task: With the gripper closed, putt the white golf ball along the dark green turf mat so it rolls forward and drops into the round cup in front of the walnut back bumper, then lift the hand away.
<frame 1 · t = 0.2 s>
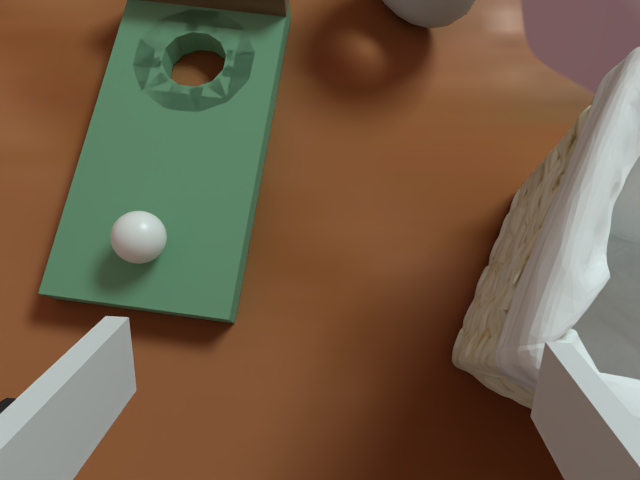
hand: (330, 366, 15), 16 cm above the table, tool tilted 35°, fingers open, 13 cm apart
bumper: (214, 19, 38), resting on mat
mat: (183, 146, 35), on the table
donut: (405, 13, 38), on the table
ball: (139, 237, 29), point 4 cm above the table, touching mat
storage basket: (636, 345, 31), on the table
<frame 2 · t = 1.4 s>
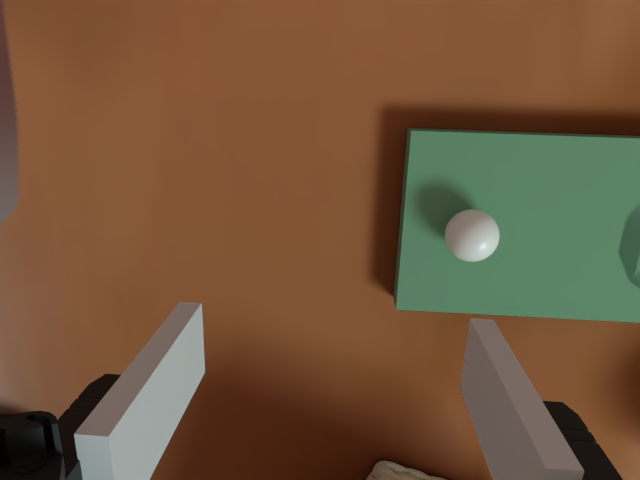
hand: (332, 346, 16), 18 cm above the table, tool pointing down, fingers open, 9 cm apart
mat: (579, 225, 32), on the table
ball: (471, 235, 29), point 4 cm above the table, touching mat
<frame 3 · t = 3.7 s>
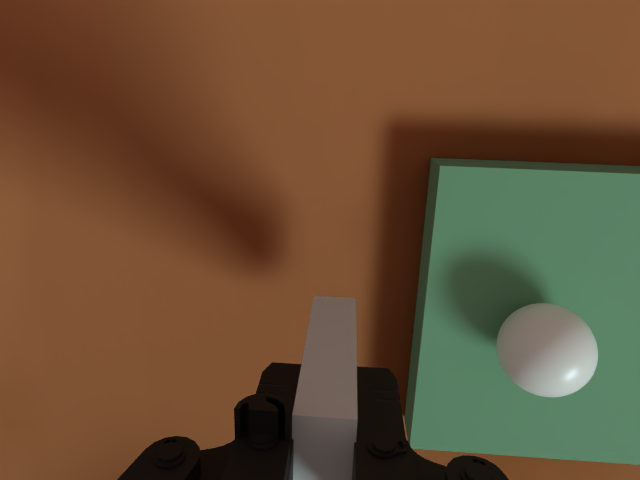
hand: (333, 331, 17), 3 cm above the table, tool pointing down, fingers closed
ball: (545, 349, 17), point 4 cm above the table, touching mat
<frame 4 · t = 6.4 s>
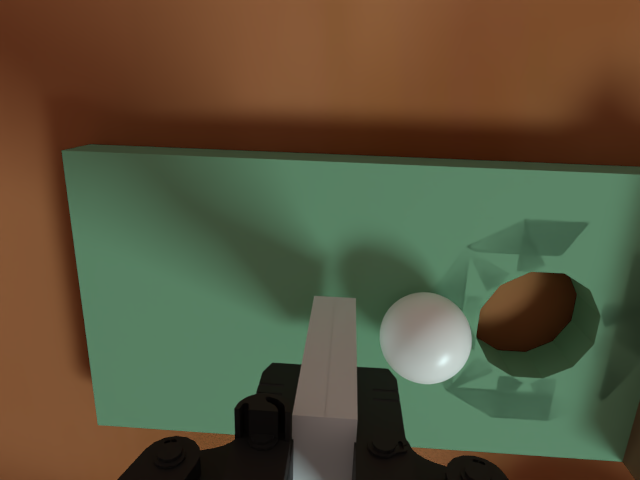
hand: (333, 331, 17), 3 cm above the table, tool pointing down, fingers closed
mat: (377, 296, 21), on the table
ball: (424, 337, 17), point 4 cm above the table, tilted 23°, touching mat
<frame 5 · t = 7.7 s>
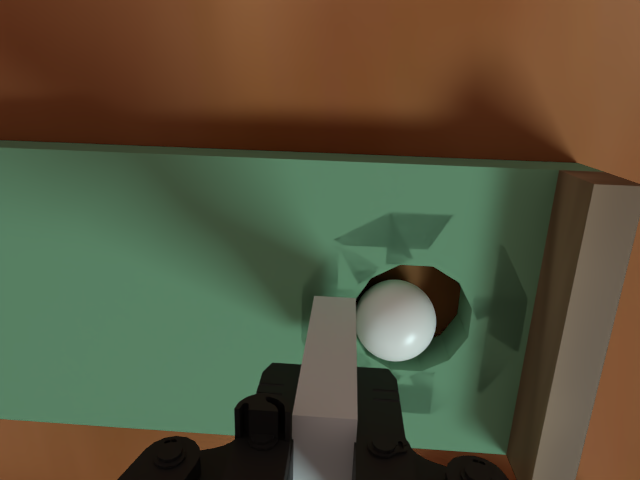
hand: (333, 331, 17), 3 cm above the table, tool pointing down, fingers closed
bumper: (531, 305, 20), resting on mat
mat: (265, 290, 21), on the table
ball: (394, 319, 19), point 2 cm above the table, tilted 137°
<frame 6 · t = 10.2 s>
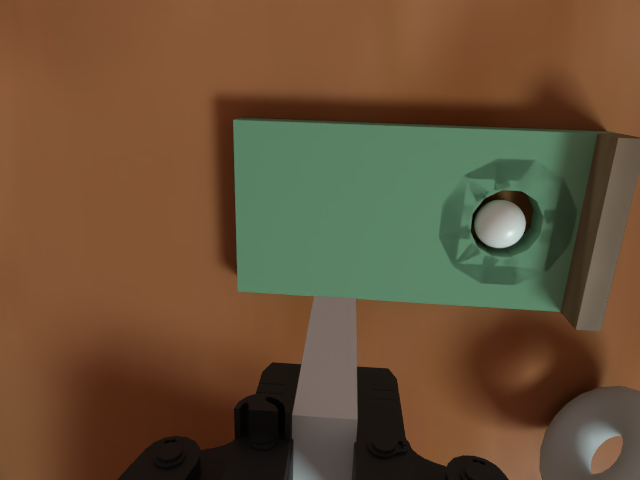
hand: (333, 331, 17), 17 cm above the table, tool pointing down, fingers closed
bumper: (576, 220, 33), resting on mat
mat: (410, 212, 33), on the table
donut: (573, 405, 37), on the table
ball: (499, 223, 32), point 2 cm above the table, tilted 147°
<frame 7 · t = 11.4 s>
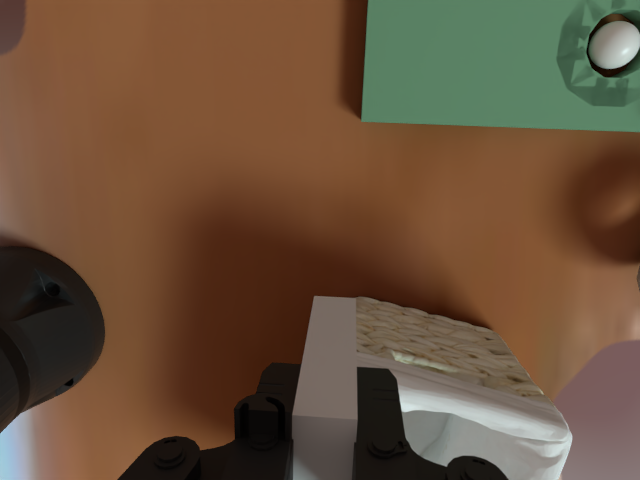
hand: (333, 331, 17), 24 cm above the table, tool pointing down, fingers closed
mat: (524, 44, 36), on the table
ball: (613, 45, 34), point 2 cm above the table, tilted 152°
storage basket: (389, 404, 47), on the table
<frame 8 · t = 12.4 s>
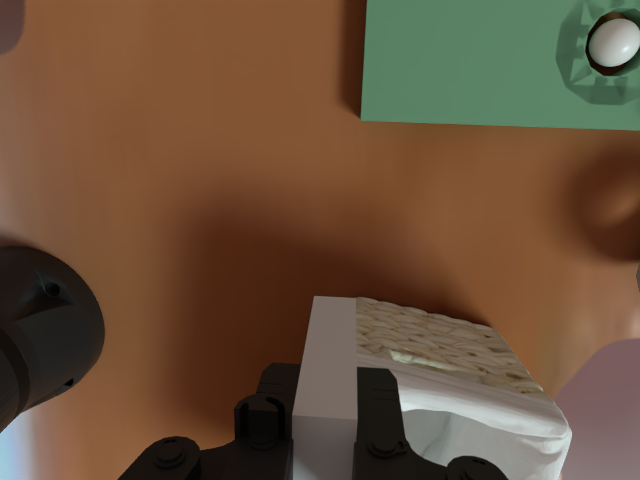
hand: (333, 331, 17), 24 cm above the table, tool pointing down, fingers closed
mat: (523, 43, 36), on the table
ball: (614, 43, 34), point 2 cm above the table, tilted 156°
storage basket: (390, 403, 47), on the table
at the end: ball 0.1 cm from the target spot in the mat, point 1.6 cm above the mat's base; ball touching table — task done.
